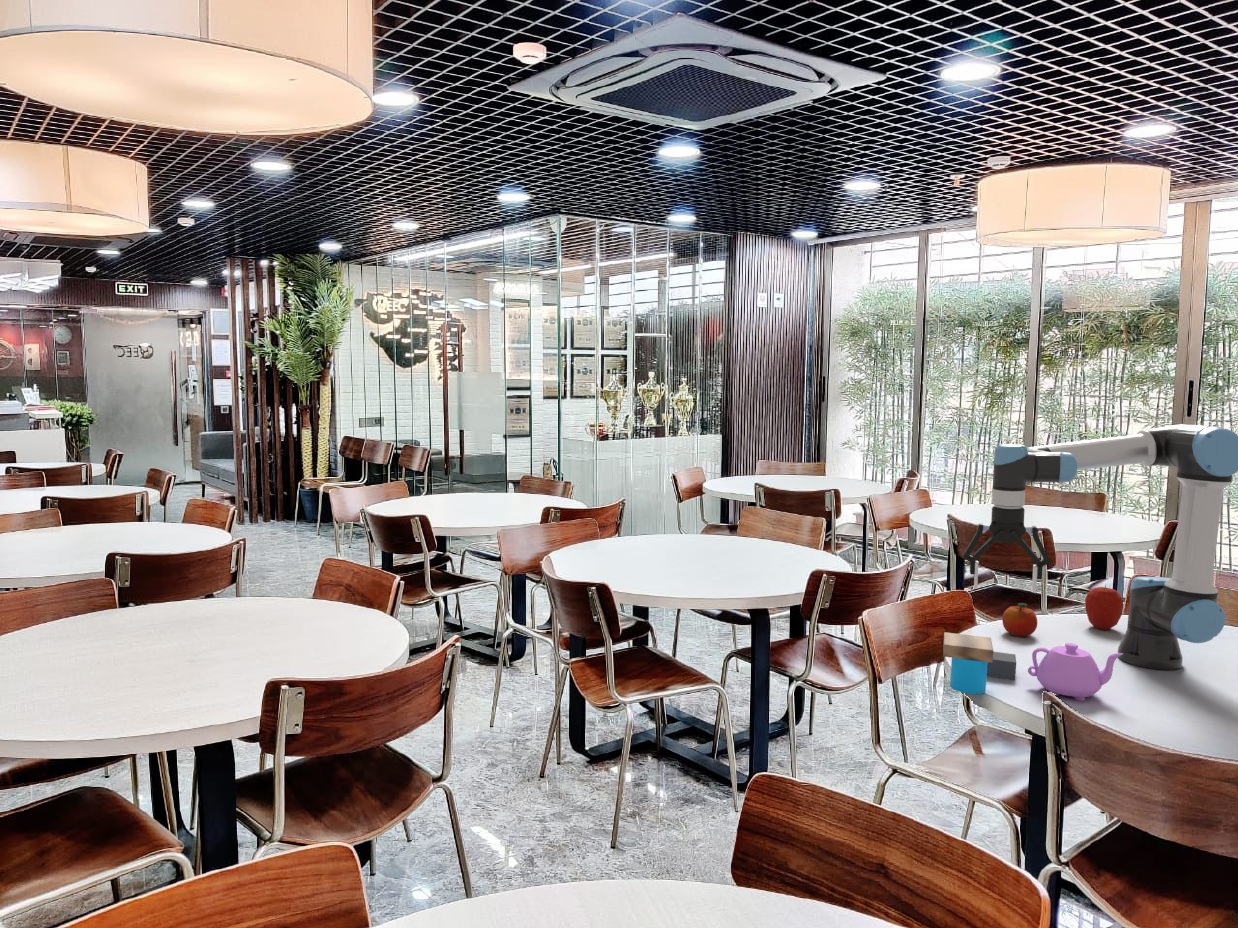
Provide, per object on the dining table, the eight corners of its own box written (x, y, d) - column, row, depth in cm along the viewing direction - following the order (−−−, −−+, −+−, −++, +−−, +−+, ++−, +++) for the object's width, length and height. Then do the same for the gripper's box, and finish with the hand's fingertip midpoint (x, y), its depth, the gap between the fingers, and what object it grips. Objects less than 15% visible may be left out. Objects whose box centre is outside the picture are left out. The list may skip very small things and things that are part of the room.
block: (990, 649, 225) (991, 637, 225) (992, 662, 215) (993, 650, 214) (943, 643, 229) (944, 632, 228) (943, 656, 218) (944, 644, 218)
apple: (1126, 629, 274) (1130, 584, 273) (1113, 635, 268) (1117, 589, 266) (1090, 621, 282) (1094, 577, 281) (1077, 627, 275) (1081, 582, 274)
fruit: (1032, 631, 270) (1035, 598, 269) (1039, 640, 260) (1042, 607, 259) (998, 628, 272) (1000, 596, 271) (1004, 637, 263) (1006, 604, 261)
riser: (1014, 671, 233) (1015, 654, 233) (1015, 679, 227) (1016, 662, 226) (984, 667, 236) (986, 650, 235) (985, 675, 229) (986, 658, 229)
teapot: (1120, 693, 219) (1124, 644, 218) (1117, 711, 207) (1121, 660, 205) (1030, 677, 229) (1034, 630, 228) (1022, 693, 217) (1026, 644, 216)
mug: (989, 695, 216) (992, 662, 215) (954, 692, 217) (956, 659, 216) (976, 678, 228) (978, 646, 227) (943, 675, 229) (945, 644, 228)
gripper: (1061, 506, 225) (1057, 589, 227) (955, 501, 233) (952, 581, 236) (1065, 511, 218) (1060, 596, 220) (955, 505, 226) (952, 588, 229)
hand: (1004, 589), depth 228 cm, fingers open, 13 cm apart
